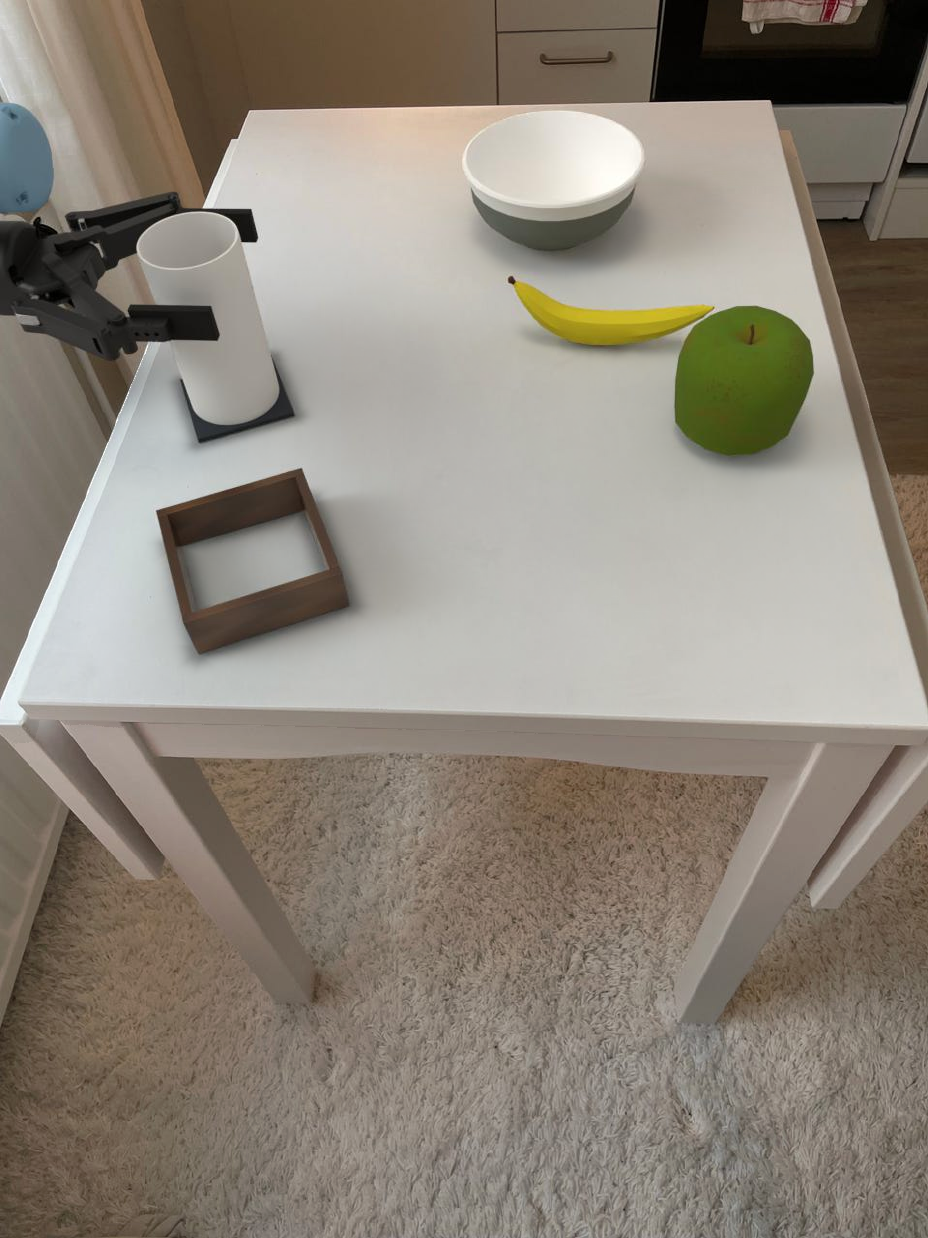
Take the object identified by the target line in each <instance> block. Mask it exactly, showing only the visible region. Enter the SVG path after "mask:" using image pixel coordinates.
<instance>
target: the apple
mask: <svg viewBox="0 0 928 1238" xmlns="http://www.w3.org/2000/svg"><path fill="white" fill-rule="evenodd" d="M814 367H815V366H814V354H813V348H812V343H811V340H810V338H809V337H808V336H807V335H806V334H805V332H804V331H803V330H802V328H801V327H800V326H799V325H798V324H797V323H796V321H794V320H793V319H792V318H790V317H788V316H786V315H784V314H782V313H780V312H778V311H776V310H774V309H770V308H766V307H762V306H759V305H736V306H733V307H730V308H726V309H723V310H719V311H717V312H715V313H712V314H710V315H708V316H707V317H704V318H703V319H701V320H700V321H699V322H697V323H696V324H695V325H693V327H692V328H691V330H690V331H689V333H688V334H687V336H686V338H685V339H684V341H683V344H682V347H681V349H680V351H679V354H678V358H677V364H676V371H675V379H674V403H673V407H674V422H675V423H676V425H677V427H679V429H680V430H681V431H682V433H683V434H684V435H685V437H686V438H688V439H689V440H691V441H692V442H694V443H695V444H696V445H697V446H699V447H700V448H702V449H704V450H706V451H709V452H713V453H717V454H721V455H724V456H727V457H733V456H734V457H735V456H747V455H748V456H749V455H755V454H757V453H760V452H762V451H765V450H767V449H770V448H773V447H774V446H776V445H777V444H779V443H780V442H782V441H783V440H784V439H786V437H788V436H789V434H790V432H791V430H792V428H793V425H794V424H795V422H796V419H797V418H798V415H799V413H800V412H801V409H802V407H803V405H804V403H805V401H806V399H807V396H808V392H809V390H810V387H811V384H812V381H813V377H814V374H815V368H814Z"/></svg>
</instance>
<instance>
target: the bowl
mask: <svg viewBox="0 0 928 1238" xmlns="http://www.w3.org/2000/svg"><path fill="white" fill-rule="evenodd" d="M461 164H462V169H463V174H464V175H465V176H466V178H467V181H468V184H469V187H470V193H471V198H472V203H473V205H474V207H475V208H476V210H477V212H478V213H479V215H480V216H481V218H482V219H483V221H484V223H486V224H487V225H488V226H489V227H490V229H492V230H494V231H495V232H497V233H498V234H500V235H501V236H503V237H504V238H506V239H507V240H510V241H512V242H514V243H516V244H518V245H523V246H524V247H526V248H528V249H532V250H536V251H542V252H558V251H564V250H570V249H571V248H575V247H577V246H579V245H582V244H584V243H588V242H590V241H592V240H594V239H596V238H598V237H599V236H601V235H602V234H604V233H606V232H608V231H609V230H610V229H611V228H612V227H613V226H615V225H616V224H617V223H618V222H619V220H620V219H621V218H622V216H623V215H624V214H625V212H626V211H627V209H628V208H629V207H630V205H631V204H632V200H633V198H634V195H635V190H636V187H637V182H638V179H639V177H640V176H641V175H642V173H643V170H644V168H645V166H646V151H645V149H644V147H643V144H642V142H641V141H640V139H639V138H638V137H637V135H636V134H635V133H634V132H633V131H631V130H630V129H628V128H627V127H626V126H625V125H623V124H621V123H619V122H617V121H614V120H612V119H611V118H608V117H604V116H601V115H598V114H594V113H588V112H583V111H575V110H565V109H564V110H563V109H561V110H560V109H559V110H558V109H557V110H555V109H553V110H552V109H550V110H548V109H547V110H539V111H531V112H530V111H529V112H526V113H525V112H524V113H520V114H515V115H512V116H509V117H506V118H503V119H500V120H498V121H496V122H494V123H492V124H489V125H487V126H486V127H485V128H484V129H483V128H482V130H480V131H479V132H477V133H476V135H474V136H473V137H472V138H471V139H470V140H469V141H468V144H466V147H465V149H464V151H463V153H462V159H461Z"/></svg>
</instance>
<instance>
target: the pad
mask: <svg viewBox="0 0 928 1238" xmlns="http://www.w3.org/2000/svg"><path fill="white" fill-rule="evenodd" d="M271 357H272V361H273V365H274V369H275V373H276V376H277V380H278V384H279V395H278V398H277V400H276V402H275V404H274V405H273V406H272V407H271V408H270V409H269V410H268V411H267V412H266V413H264V414H263V415H261V416H260V417H258V418H256V419H254V420H251V421H248V422H245V423H241V424H235V425H219V424H214V423H210V422H208V421H205V420H203V419H202V418H200V417H199V416H198V415H197V414H196V413H195V411H194V409H193V407H192V404H191V402H190V399H189V396H188V393H187V391H186V388H185V385H184V382H183V379H182V378H179V381H180V385H181V388H182V392H183V395H184V398H185V401H186V405H187V408H188V411H189V415H190V418H191V422H192V425H193V429H194V432H195V435H196V439H197V441H198V444H202V443H205V442H208V441H212V440H215V439H220V438H222V437H226V436H230V435H233V434H236V433H240V432H243V431H247V430H250V429H255V428H258V427H261V426H265V425H268V424H271V423H272V424H273V423H276V422H279V421H282V420H286V419H289V418H293V417H295V416H296V414H295V411H294V408H293V406H292V404H291V400H290V398H289V396H288V394H287V391H286V389H285V386H284V384H283V381H282V378H281V376H280V373H279V371H278V368H277V366H276V363H275V360H274V358H273V356H272V355H271Z"/></svg>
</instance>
